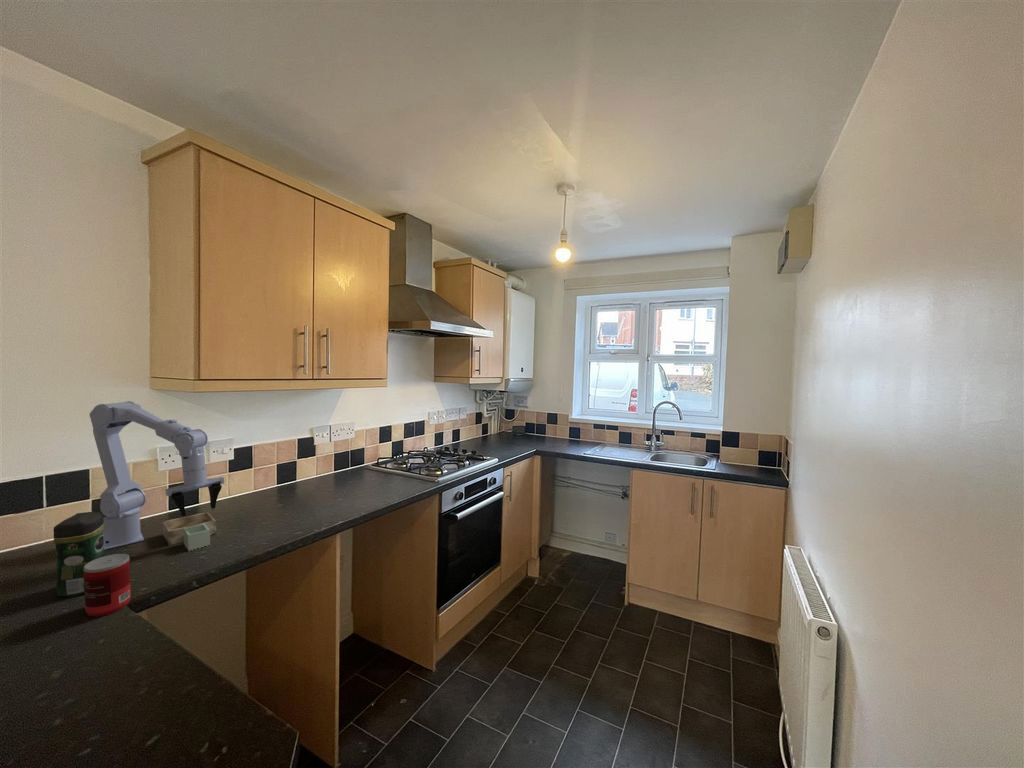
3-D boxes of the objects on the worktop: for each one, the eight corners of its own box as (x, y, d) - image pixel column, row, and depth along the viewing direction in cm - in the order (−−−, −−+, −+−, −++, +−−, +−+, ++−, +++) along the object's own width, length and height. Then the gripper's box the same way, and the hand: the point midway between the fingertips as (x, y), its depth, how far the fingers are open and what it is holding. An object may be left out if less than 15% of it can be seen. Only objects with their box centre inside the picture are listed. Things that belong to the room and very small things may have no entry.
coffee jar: (71, 581, 107) (68, 511, 106) (111, 575, 110) (108, 507, 109) (49, 601, 98) (45, 525, 97) (93, 593, 101) (90, 520, 100)
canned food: (130, 593, 102) (128, 550, 101) (131, 607, 96) (130, 561, 95) (86, 606, 96) (83, 560, 96) (84, 622, 91) (82, 573, 90)
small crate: (188, 551, 124) (188, 535, 124) (184, 544, 129) (183, 528, 129) (210, 545, 128) (209, 529, 128) (205, 538, 133) (204, 523, 132)
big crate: (169, 545, 128) (168, 531, 127) (163, 534, 135) (162, 521, 135) (216, 533, 137) (216, 520, 136) (208, 524, 144) (208, 511, 144)
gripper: (167, 476, 120) (172, 522, 121) (225, 465, 131) (229, 506, 132) (162, 473, 124) (166, 517, 125) (218, 462, 136) (222, 503, 136)
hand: (198, 511), depth 129 cm, fingers open, 7 cm apart
